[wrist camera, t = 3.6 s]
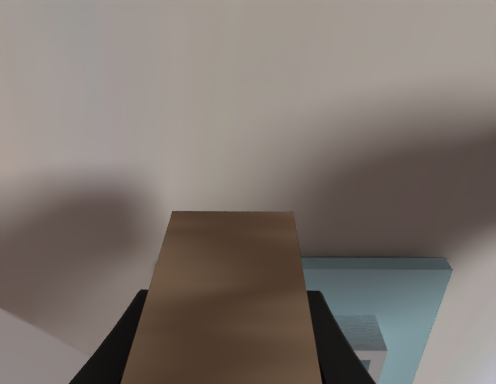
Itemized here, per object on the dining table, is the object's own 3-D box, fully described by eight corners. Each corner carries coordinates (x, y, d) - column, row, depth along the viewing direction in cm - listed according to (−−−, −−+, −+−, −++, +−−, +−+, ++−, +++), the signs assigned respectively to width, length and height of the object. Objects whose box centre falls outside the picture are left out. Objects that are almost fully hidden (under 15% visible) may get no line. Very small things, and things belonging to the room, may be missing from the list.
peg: (293, 211, 13) (330, 431, 7) (286, 298, 15) (311, 524, 9) (172, 211, 13) (106, 429, 7) (182, 297, 15) (137, 523, 9)
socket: (375, 315, 24) (387, 350, 22) (355, 398, 28) (363, 434, 26) (234, 314, 24) (232, 350, 22) (236, 397, 28) (234, 433, 26)
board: (445, 257, 23) (452, 269, 22) (392, 413, 31) (396, 426, 30) (169, 257, 23) (166, 268, 22) (190, 412, 31) (188, 425, 30)
